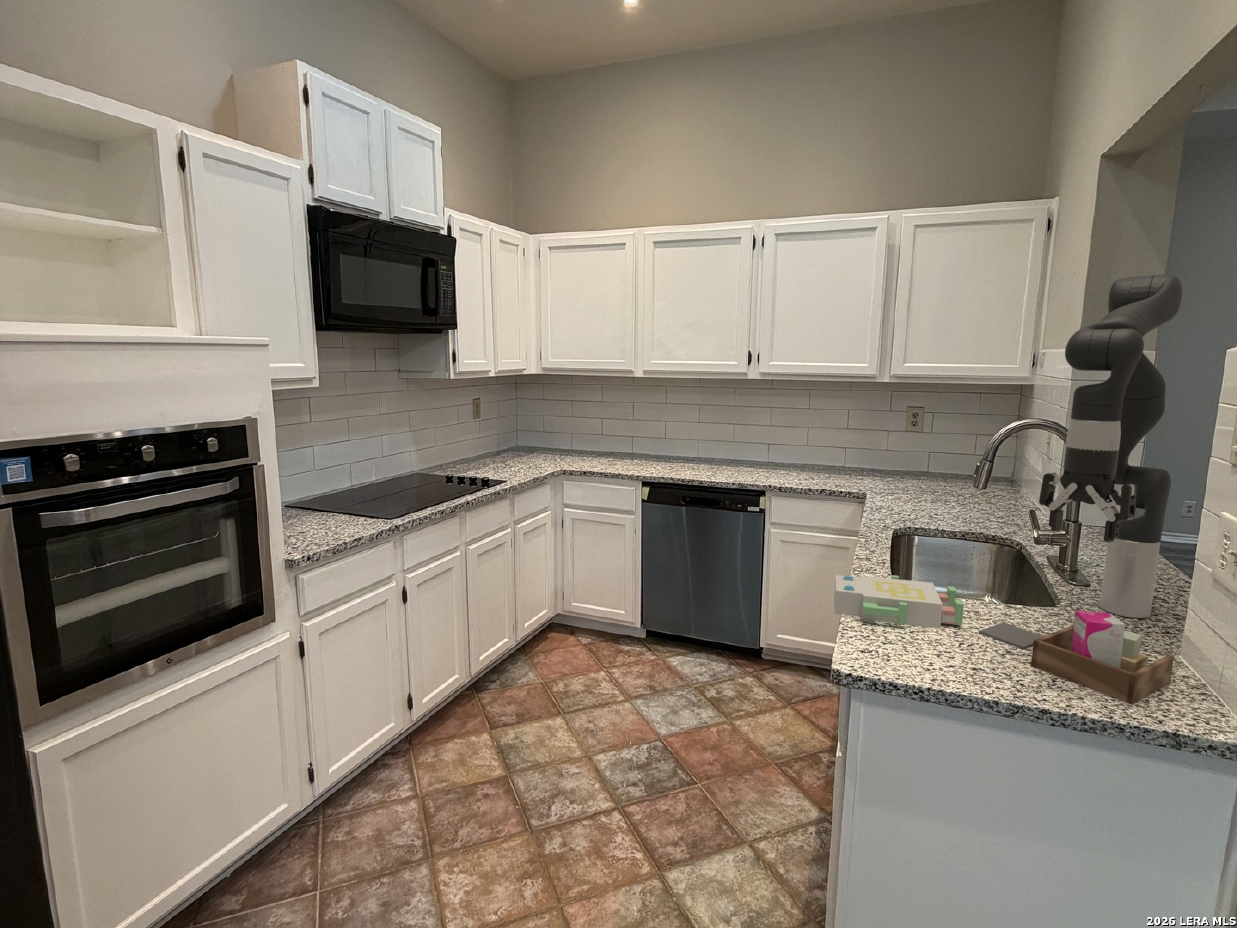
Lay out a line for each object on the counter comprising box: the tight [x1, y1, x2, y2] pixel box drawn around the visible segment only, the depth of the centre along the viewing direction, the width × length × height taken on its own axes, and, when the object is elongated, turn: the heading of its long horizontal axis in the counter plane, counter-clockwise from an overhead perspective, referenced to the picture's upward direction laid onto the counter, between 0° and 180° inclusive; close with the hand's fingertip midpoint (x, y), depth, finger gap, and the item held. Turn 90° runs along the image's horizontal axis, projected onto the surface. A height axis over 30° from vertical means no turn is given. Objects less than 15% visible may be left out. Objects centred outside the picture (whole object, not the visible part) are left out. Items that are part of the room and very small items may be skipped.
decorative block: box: [833, 574, 965, 629], centre depth 147 cm, size 26×6×20 cm
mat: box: [978, 621, 1045, 650], centre depth 134 cm, size 9×9×1 cm
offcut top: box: [1121, 630, 1143, 659], centre depth 119 cm, size 4×7×4 cm, turn 39°
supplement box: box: [1071, 610, 1126, 668], centre depth 116 cm, size 6×6×12 cm
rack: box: [1030, 624, 1175, 705], centre depth 117 cm, size 14×16×5 cm
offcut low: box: [1120, 653, 1149, 673], centre depth 120 cm, size 5×9×4 cm, turn 30°
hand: (1081, 535), depth 116 cm, fingers open, 8 cm apart
